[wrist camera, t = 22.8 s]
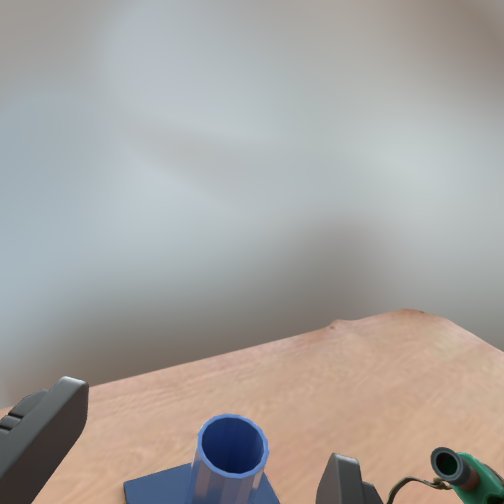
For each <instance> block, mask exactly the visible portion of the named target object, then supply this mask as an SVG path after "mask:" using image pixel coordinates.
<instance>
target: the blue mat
mask: <svg viewBox="0 0 504 504" xmlns="http://www.w3.org/2000/svg"><path fill="white" fill-rule="evenodd" d="M191 463H192V462H191ZM191 463H188V464H185V465H181V466H178V467H174V468H171V469H168V470H164V471H161V472H157V473H154V474H151V475H147V476H144V477H140V478H137V479H134V480H130V481H127V482H124V491H125V497H126V503H127V504H183V501H184V497H185V492H186V487H187V482H188V478H189V473H190V468H191ZM253 504H280V503H279V501H278V499H277V497H276V495H275V493H274V491H273V489H272V487H271V485H270V483H269V481H268V479H267V477H266V476H265V474H264V472H263V474H262V477H261V480H260V483H259V486H258V490H257V493H256V496H255V499H254V502H253Z"/></svg>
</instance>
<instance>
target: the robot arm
mask: <svg viewBox="0 0 504 504" xmlns="http://www.w3.org/2000/svg"><path fill="white" fill-rule="evenodd" d="M88 392H89V385H88V383H87V382H84V381H80V380H76V379H73V378H70V377H62V378H61V379H60V380H59V381H58V382H57V383H56V384H55V385H54V386H53V387H52V388H51V389H50V390H49V391H48V390H44V389H40V390H38V391H36V392H34V393H32V394H30V395H29V396H27V397H25V398H23V399H22V400H21V401H20V402H19V403H18V404H17V405H16V406H15V407H14V408H13V409H12V410H11V411H10V412H9V413H8V415H5V416H4V417H3V418H2V419H1V420H0V504H31V503H32V502H33V500H34V499H35V497H36V496H37V495H38V493H39V492H40V491H41V489H42V488H43V486H44V485H45V484H46V482H47V481H48V479H49V478H50V477H51V475H52V474H53V473H54V471H55V470H56V468H57V467H58V466H59V464H60V463H61V462H62V460H63V459H64V457H65V456H66V455H67V453H68V452H69V450H70V449H71V448H72V446H73V445H74V444H75V442H76V441H77V439H78V438H79V436H80V435H81V433H82V431H83V429H84V426H85V424H86V420H87V410H88ZM316 504H383V502H382V500H381V498H380V496H379V494H378V493H377V491H376V489H375V487H374V485H373V484H370V483H367V482H363V481H362V478H361V472H360V466H359V462H358V460H357V459H353V458H350V457H346V456H343V455H339V454H336V453H332V455H331V457H330V459H329V461H328V464H327V466H326V469H325V471H324V474H323V476H322V479H321V481H320V483H319V486H318V490H317V496H316Z"/></svg>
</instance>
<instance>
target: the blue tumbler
mask: <svg viewBox="0 0 504 504" xmlns="http://www.w3.org/2000/svg"><path fill="white" fill-rule="evenodd" d="M268 455H269V449H268V441H267V439H266V437H265V435H264V433H263V432H262V430H261V429H260V428H259V427H258V426H257V425H256V424H255V423H254V422H252V421H251V420H249V419H247V418H244V417H242V416H240V415H233V414H223V415H219V416H214V417H213V418H211V419H210V420H208V421H207V422H205V423H204V424H203V426H202V428H201V429H200V431H199V433H198V435H197V440H196V444H195V449H194V454H193V459H192V463H191V468H190V473H189V478H188V482H187V487H186V492H185V497H184V501H183V504H253V502H254V499H255V496H256V493H257V490H258V486H259V483H260V480H261V477H262V474H263V471H264V468H265V464H266V461H267V458H268Z"/></svg>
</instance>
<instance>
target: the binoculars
mask: <svg viewBox="0 0 504 504" xmlns="http://www.w3.org/2000/svg"><path fill="white" fill-rule="evenodd" d="M431 465H432V468H433V470H434V471H435V473H436V474H437V475H438V476H439V477H436V478H433V482H428V481H426V480H424V481H423V480H420V479H418V478H415V477H405V478H403V479H402V480H400V481H399V482H398V483H397V484H396V485H395V486H394V487H393V488H392V490H391V491H390V493H389V496H388V499H387V502H386V504H392V503H393V500H394V497H395V495H396V493H397V492H398V491H399V490H400V489H401V487H403V486H404V485H405V484H406V483H408V482H410V481H419V482H422V483H424V484H426V485H429V486H431V487H433V488H435V489H440V490H442V489H445V490H450V489H454V490H455V492H456V493H457V495H458V496H459V497H460V499H461V500H462V501H463V503H464V504H504V479H503V478H502V477H501V476H500V475H499V474H497V473H496V472H495V471H494V470H493V469H491V468H490V467H489V466H487V465H486V464H483V463H481V462H480V461H478V460H477V459H475V458H474V457H473V456H471V455H469V454H467V453H460V452H458V453H455V452H454V451H453V450H451V449H449V448H445V447H439V448H436V449H435V450H434V451H433V452H432V454H431ZM442 481H446V482H448V483H449V484H450V485H449V486H446V485H445V483H443V482H442Z"/></svg>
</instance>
